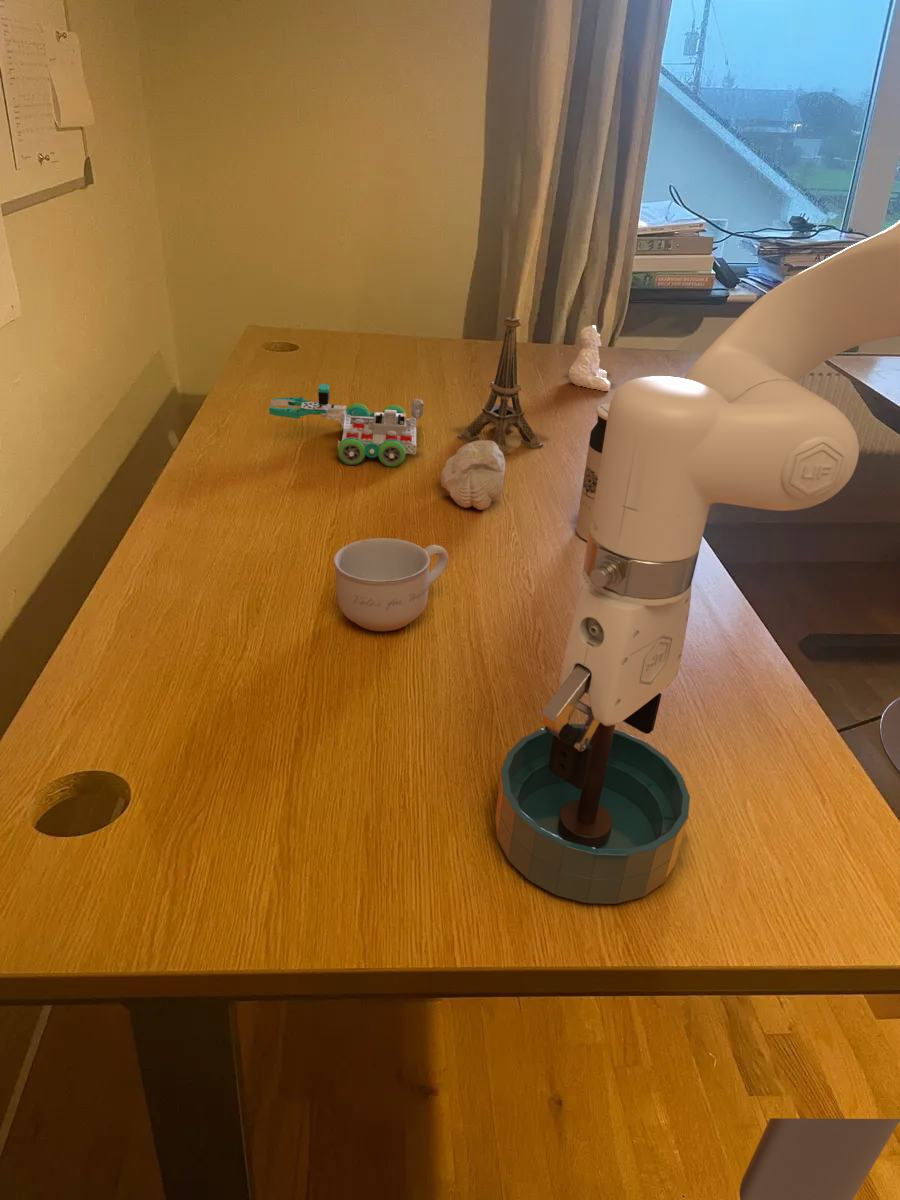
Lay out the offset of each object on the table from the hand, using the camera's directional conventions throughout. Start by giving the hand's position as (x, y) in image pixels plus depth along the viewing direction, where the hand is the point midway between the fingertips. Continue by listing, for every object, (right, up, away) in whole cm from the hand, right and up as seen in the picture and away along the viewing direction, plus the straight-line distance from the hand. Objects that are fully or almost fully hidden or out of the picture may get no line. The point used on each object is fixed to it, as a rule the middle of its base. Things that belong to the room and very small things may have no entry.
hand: (602, 750), depth 71 cm
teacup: (-19, +10, +33) cm, 39 cm away
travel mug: (+10, +21, +54) cm, 59 cm away
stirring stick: (-1, -8, +5) cm, 9 cm away
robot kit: (-29, +37, +77) cm, 90 cm away
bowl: (-1, -8, +5) cm, 9 cm away
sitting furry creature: (+16, +56, +114) cm, 128 cm away
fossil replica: (-9, +27, +62) cm, 68 cm away
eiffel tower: (-3, +39, +83) cm, 92 cm away
